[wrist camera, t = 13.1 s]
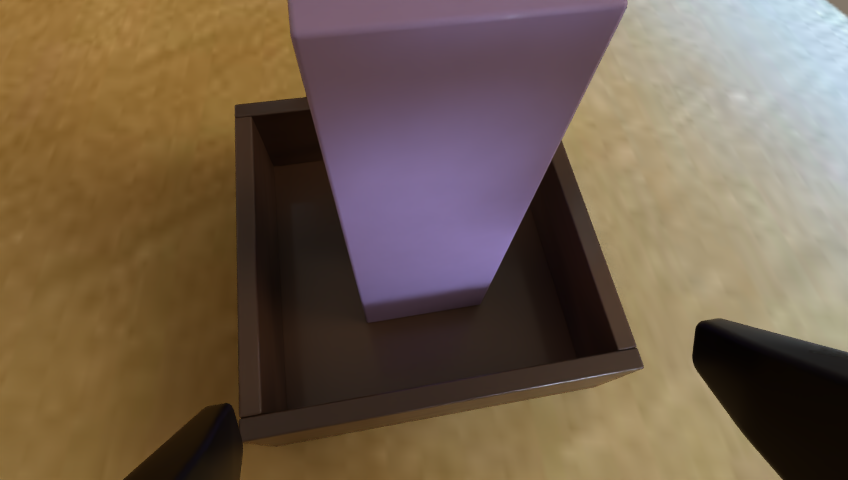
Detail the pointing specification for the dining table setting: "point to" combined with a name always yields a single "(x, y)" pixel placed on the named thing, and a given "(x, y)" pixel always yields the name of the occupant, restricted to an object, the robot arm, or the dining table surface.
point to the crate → (407, 336)
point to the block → (440, 130)
